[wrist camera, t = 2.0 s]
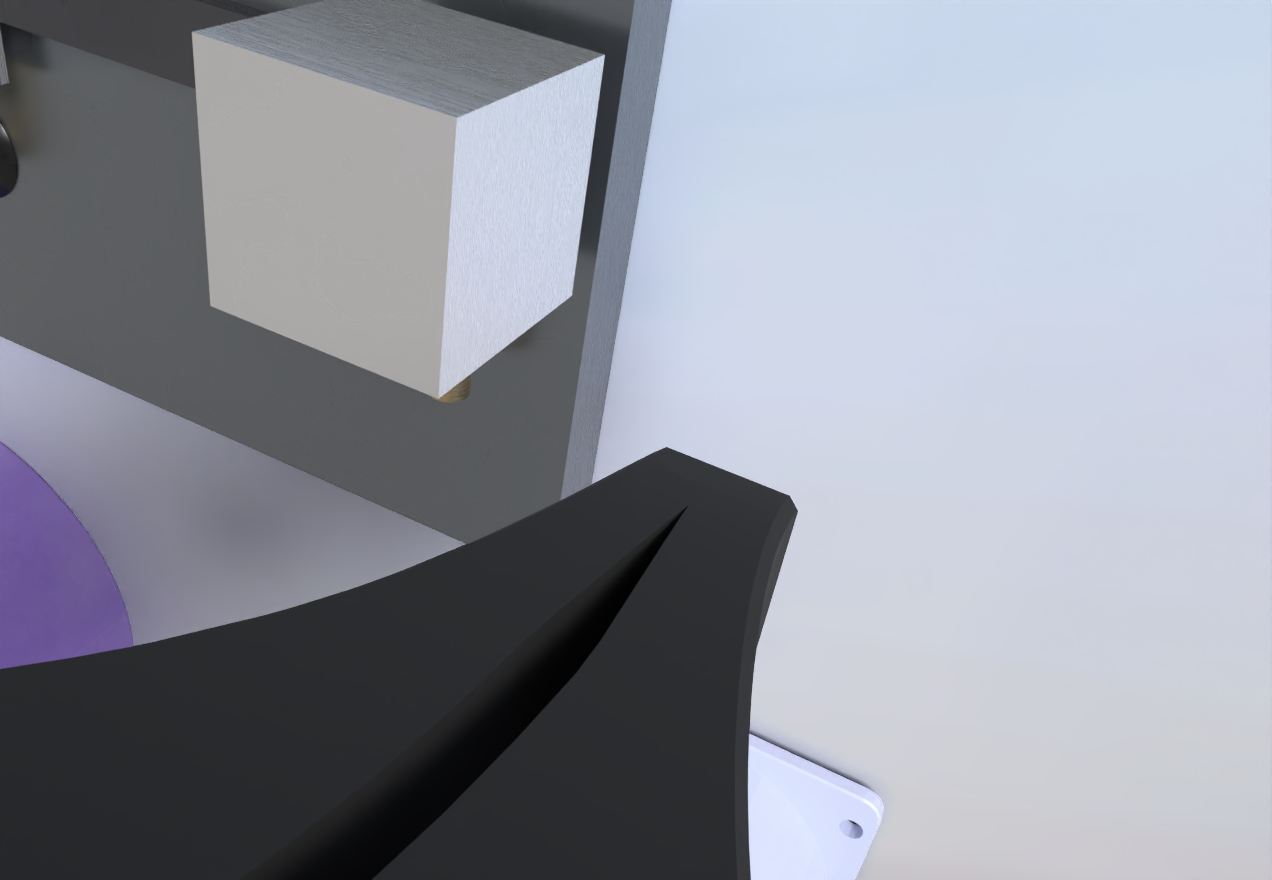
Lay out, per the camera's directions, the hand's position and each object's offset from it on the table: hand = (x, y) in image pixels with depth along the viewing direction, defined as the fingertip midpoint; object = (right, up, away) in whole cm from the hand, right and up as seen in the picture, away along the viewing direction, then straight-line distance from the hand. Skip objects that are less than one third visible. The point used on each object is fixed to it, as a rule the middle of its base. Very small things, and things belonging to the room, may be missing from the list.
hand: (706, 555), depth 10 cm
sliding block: (-3, +5, +9) cm, 11 cm away
